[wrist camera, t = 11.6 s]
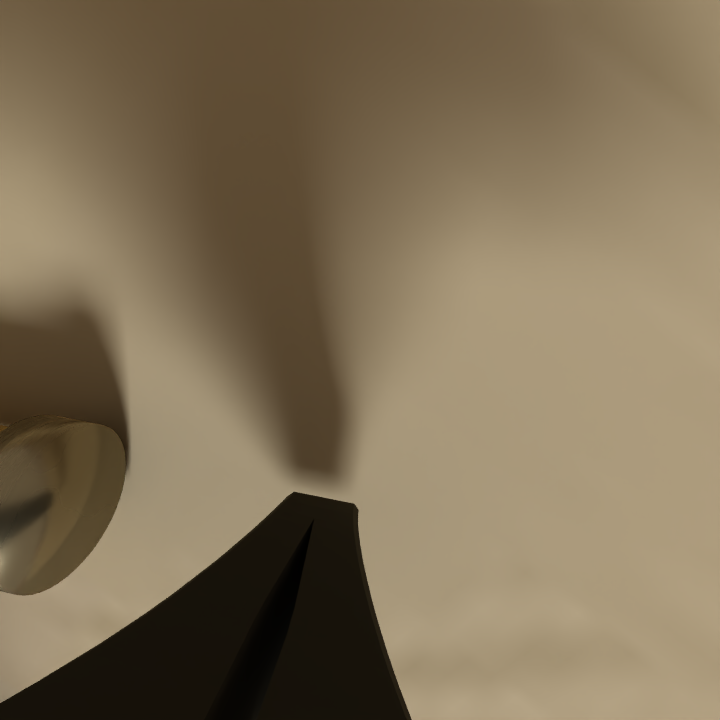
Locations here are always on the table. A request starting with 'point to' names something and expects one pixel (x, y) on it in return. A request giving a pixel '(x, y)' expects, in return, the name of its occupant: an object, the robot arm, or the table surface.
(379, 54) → the table surface
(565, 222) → the table surface
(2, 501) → the lock pin
